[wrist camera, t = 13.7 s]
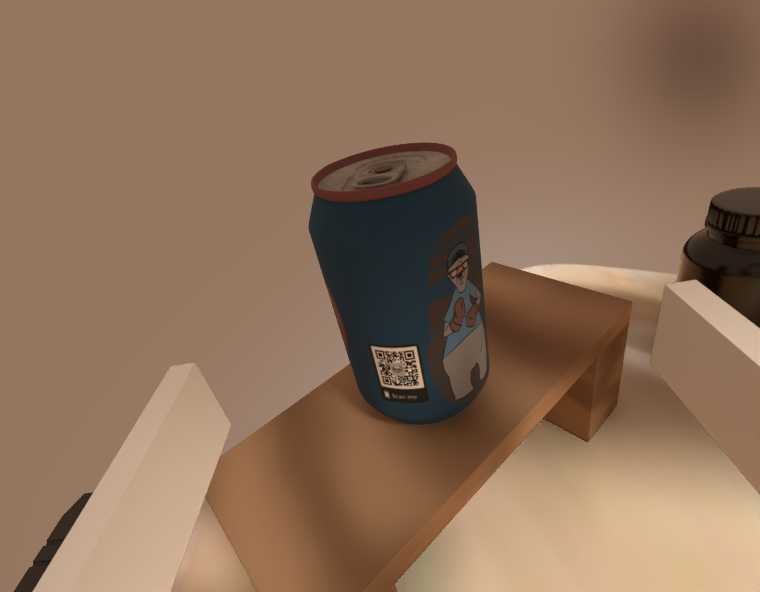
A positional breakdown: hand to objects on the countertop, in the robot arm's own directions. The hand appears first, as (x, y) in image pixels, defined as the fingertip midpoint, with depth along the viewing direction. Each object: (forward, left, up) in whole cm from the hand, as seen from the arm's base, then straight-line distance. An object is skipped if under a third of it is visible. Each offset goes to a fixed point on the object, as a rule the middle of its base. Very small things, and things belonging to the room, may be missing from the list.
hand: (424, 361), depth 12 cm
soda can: (-4, -6, -8) cm, 11 cm away
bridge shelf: (-5, -6, -17) cm, 19 cm away
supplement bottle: (-27, +2, -17) cm, 32 cm away
